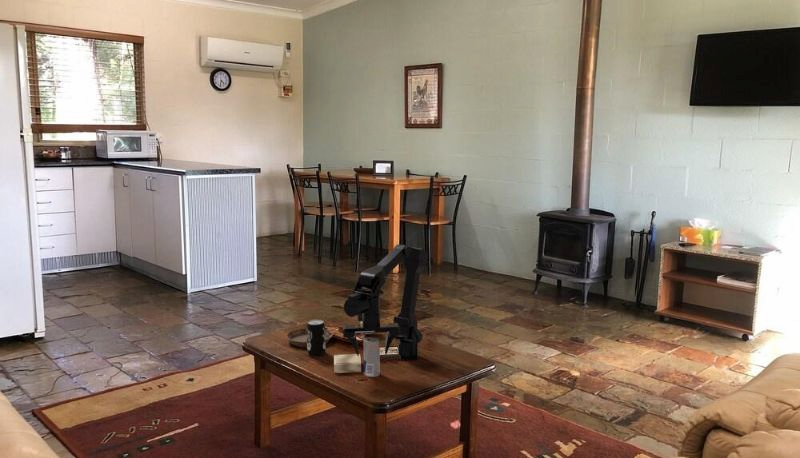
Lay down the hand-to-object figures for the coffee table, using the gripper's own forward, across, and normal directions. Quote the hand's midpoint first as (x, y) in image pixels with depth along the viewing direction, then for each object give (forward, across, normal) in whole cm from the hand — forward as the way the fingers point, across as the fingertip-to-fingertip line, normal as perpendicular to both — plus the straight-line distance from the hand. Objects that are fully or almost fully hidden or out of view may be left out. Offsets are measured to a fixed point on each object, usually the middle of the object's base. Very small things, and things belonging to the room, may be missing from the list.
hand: (371, 354), depth 208 cm
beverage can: (+7, +19, -22) cm, 30 cm away
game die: (+7, -1, -41) cm, 42 cm away
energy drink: (+7, 0, 0) cm, 7 cm away
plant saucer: (+7, +22, -36) cm, 43 cm away
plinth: (+7, +8, -7) cm, 13 cm away
